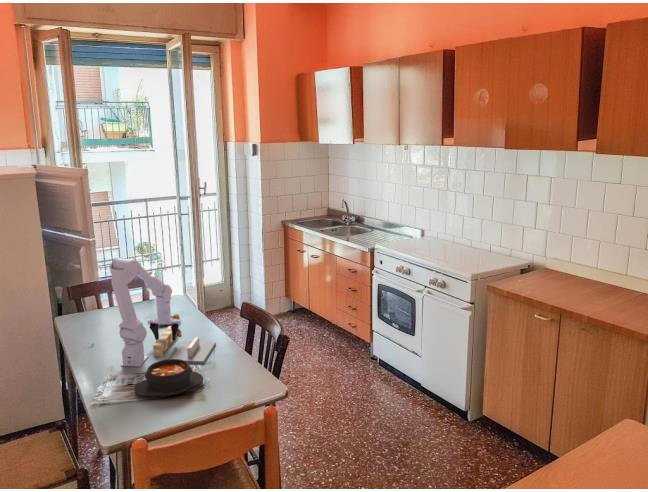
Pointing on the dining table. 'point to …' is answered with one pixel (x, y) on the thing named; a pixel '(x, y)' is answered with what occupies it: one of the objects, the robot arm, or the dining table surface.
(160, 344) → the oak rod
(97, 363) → the dining table surface
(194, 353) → the fulcrum stand
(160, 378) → the casserole
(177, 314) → the gavel
